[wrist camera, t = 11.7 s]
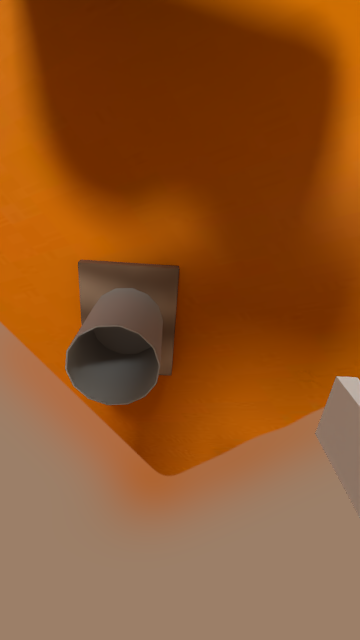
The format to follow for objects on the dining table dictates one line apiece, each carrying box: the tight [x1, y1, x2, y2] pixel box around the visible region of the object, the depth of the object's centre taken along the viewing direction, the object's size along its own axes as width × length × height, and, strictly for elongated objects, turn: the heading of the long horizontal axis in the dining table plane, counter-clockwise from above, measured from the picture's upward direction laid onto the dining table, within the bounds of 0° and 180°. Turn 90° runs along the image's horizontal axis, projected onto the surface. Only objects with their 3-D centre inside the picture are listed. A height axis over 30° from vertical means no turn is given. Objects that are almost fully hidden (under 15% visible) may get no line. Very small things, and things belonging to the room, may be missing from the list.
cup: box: [65, 288, 163, 405], centre depth 33 cm, size 8×8×10 cm
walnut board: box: [78, 260, 179, 375], centre depth 38 cm, size 14×11×1 cm
